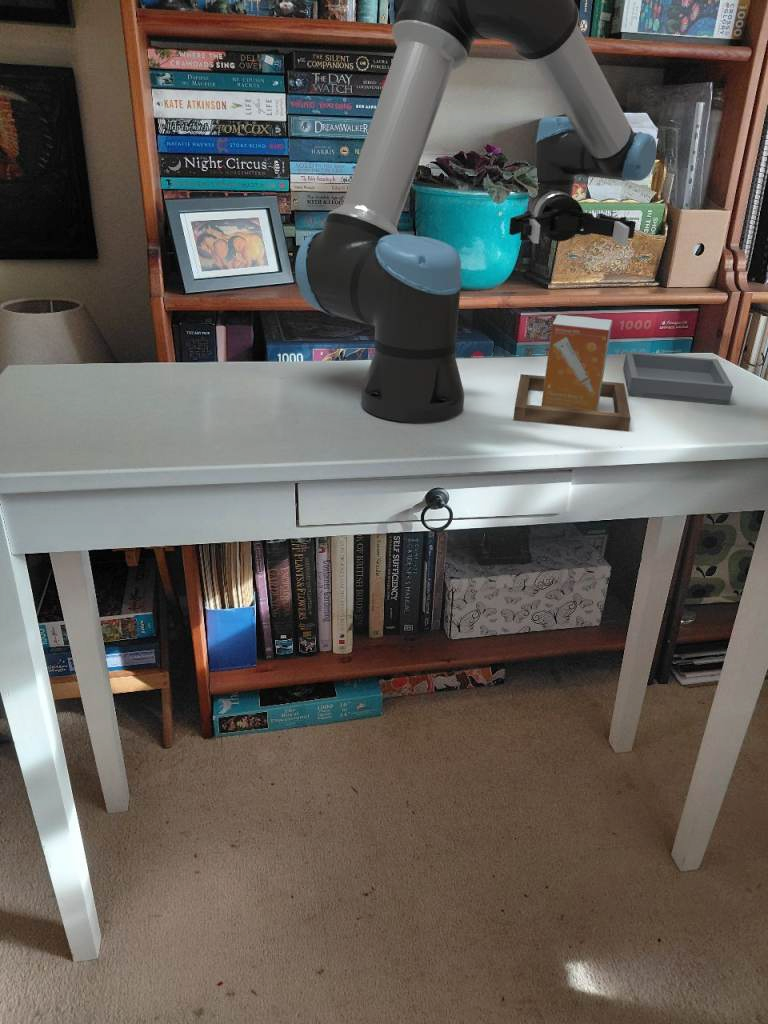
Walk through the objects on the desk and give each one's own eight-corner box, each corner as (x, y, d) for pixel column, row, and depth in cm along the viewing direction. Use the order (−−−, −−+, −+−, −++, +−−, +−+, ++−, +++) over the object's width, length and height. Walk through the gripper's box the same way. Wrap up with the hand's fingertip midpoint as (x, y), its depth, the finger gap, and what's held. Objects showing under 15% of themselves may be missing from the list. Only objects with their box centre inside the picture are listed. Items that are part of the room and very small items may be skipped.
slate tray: (628, 396, 129) (631, 377, 127) (623, 368, 142) (625, 351, 141) (728, 405, 126) (733, 386, 125) (713, 376, 139) (717, 359, 138)
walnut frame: (513, 420, 117) (514, 406, 117) (519, 386, 132) (520, 374, 131) (628, 431, 115) (630, 417, 114) (621, 395, 129) (623, 383, 128)
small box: (540, 410, 122) (551, 323, 116) (545, 397, 127) (556, 313, 121) (596, 418, 119) (610, 329, 114) (599, 404, 125) (612, 318, 119)
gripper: (625, 240, 147) (658, 262, 128) (486, 236, 147) (498, 258, 128) (632, 195, 144) (666, 212, 125) (489, 191, 144) (502, 207, 125)
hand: (581, 235), depth 127 cm, fingers open, 13 cm apart
